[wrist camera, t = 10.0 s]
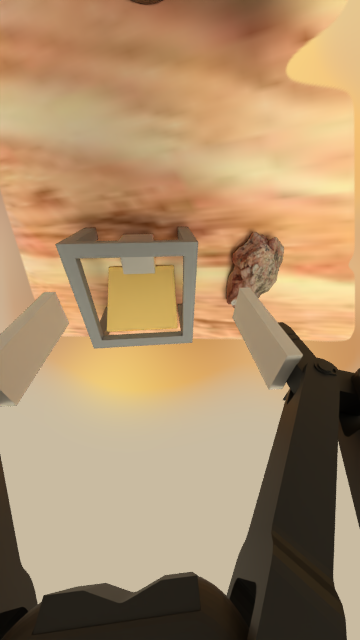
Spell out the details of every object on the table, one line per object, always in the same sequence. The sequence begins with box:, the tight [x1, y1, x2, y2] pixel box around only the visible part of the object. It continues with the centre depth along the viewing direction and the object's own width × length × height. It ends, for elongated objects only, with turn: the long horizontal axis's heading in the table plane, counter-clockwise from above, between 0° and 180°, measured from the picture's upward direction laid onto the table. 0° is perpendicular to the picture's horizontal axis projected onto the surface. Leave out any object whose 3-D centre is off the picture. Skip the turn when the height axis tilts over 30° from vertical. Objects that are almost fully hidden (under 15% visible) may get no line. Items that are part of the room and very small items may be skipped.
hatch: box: [107, 266, 177, 332], centre depth 39 cm, size 14×14×1 cm
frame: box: [56, 227, 198, 348], centre depth 37 cm, size 20×20×12 cm
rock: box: [227, 232, 284, 308], centre depth 40 cm, size 16×11×15 cm
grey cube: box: [118, 234, 155, 274], centre depth 37 cm, size 6×6×6 cm
